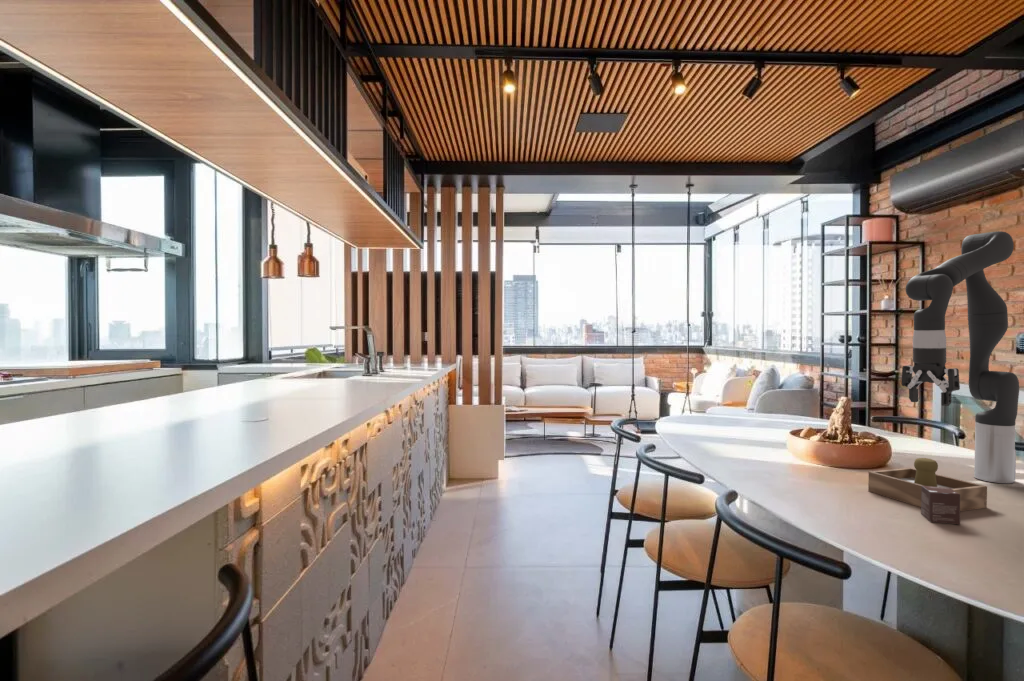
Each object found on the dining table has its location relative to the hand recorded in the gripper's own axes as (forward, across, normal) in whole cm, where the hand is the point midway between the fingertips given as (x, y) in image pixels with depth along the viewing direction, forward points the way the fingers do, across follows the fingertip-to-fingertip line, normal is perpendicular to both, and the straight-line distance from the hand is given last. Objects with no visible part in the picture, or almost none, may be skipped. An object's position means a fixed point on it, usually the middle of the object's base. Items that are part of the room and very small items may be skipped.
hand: (929, 403), depth 155 cm
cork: (+25, -5, +9) cm, 27 cm away
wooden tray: (+25, -5, +9) cm, 26 cm away
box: (+24, -17, +22) cm, 37 cm away
